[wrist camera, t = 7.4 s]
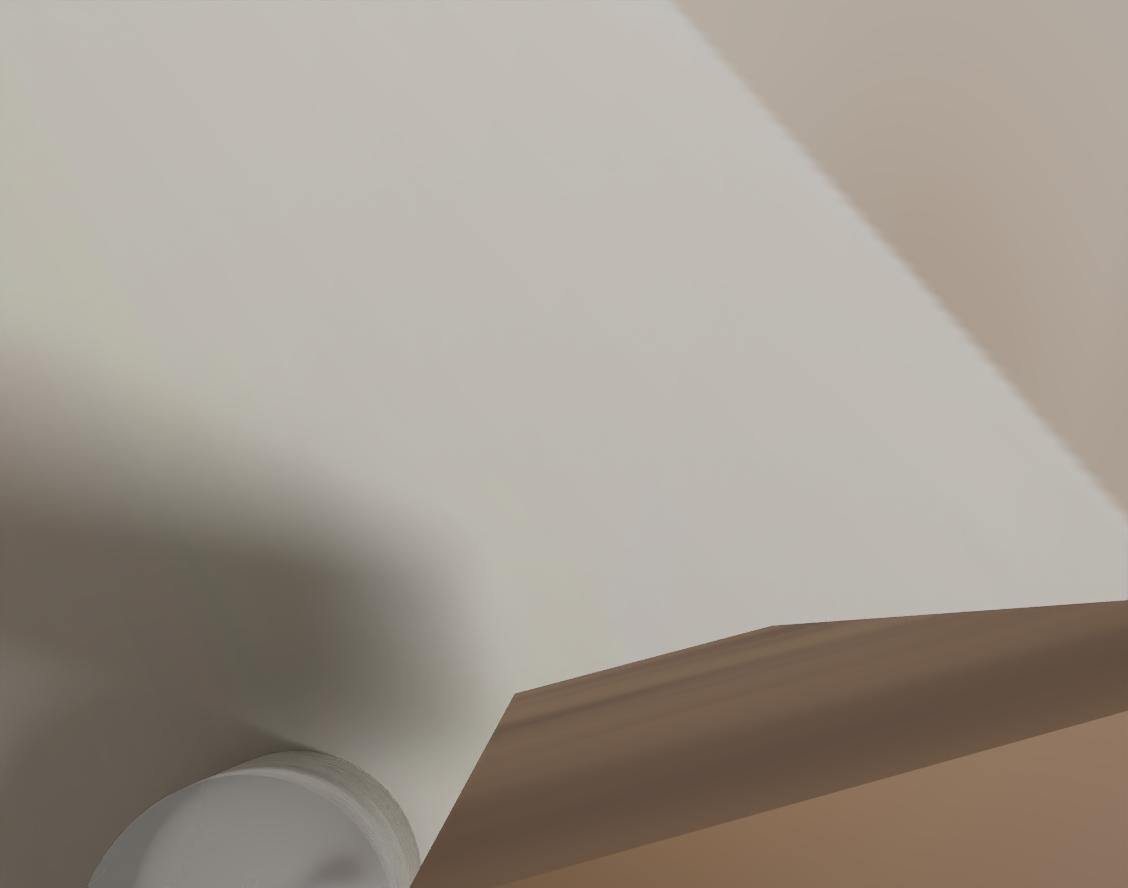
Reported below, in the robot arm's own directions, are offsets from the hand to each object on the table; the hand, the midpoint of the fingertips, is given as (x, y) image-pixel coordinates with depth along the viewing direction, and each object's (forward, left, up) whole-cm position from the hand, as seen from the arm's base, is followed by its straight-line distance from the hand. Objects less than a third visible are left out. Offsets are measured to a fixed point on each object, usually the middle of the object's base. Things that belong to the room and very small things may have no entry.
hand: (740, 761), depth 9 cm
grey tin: (-2, +9, -14) cm, 16 cm away
